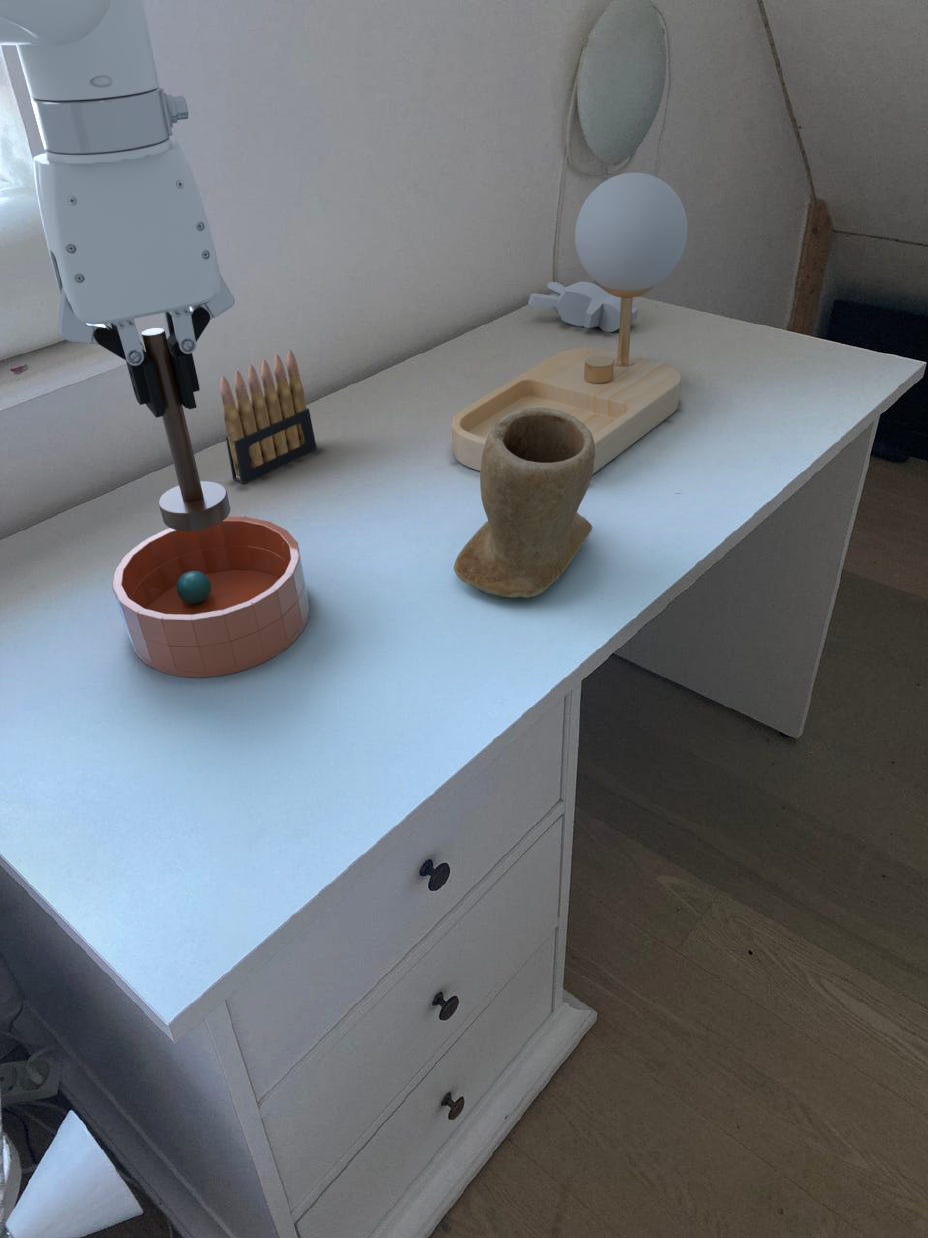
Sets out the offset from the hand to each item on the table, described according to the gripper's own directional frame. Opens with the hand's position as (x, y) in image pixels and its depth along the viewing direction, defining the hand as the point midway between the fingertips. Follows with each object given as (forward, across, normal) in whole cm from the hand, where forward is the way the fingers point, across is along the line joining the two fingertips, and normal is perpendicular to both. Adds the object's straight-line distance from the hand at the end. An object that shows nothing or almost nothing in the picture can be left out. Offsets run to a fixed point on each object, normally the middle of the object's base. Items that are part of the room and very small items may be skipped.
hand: (170, 404), depth 69 cm
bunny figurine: (+21, -70, -43) cm, 84 cm away
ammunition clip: (+21, -16, -28) cm, 38 cm away
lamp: (+21, -50, -17) cm, 56 cm away
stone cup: (+22, -28, +5) cm, 36 cm away
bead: (+21, +1, -7) cm, 22 cm away
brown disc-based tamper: (+9, 0, 0) cm, 9 cm away
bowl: (+22, 0, -3) cm, 22 cm away
